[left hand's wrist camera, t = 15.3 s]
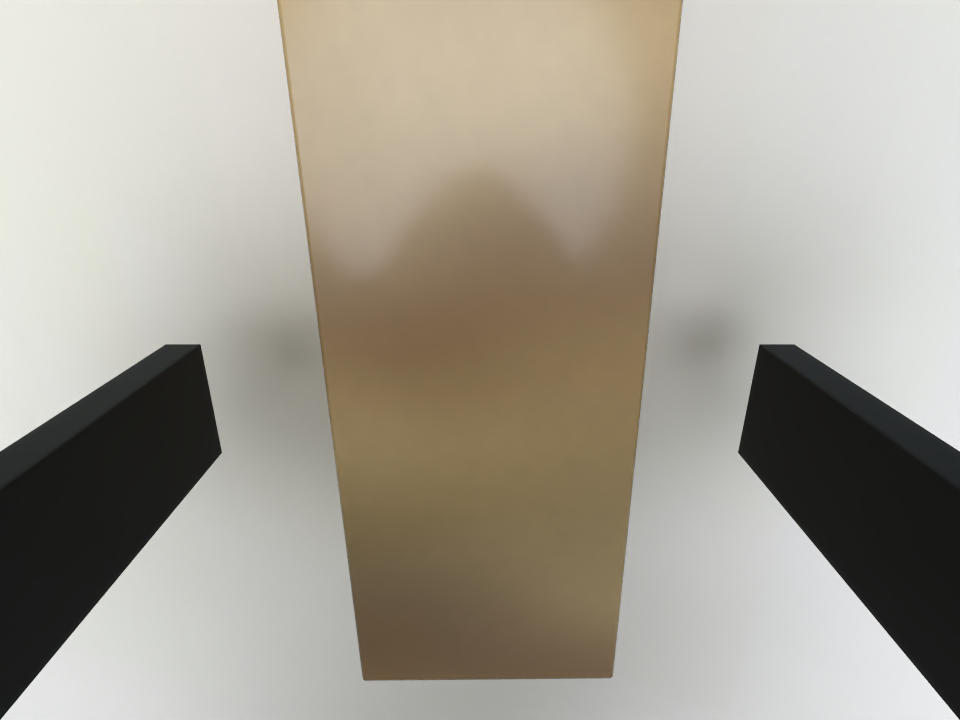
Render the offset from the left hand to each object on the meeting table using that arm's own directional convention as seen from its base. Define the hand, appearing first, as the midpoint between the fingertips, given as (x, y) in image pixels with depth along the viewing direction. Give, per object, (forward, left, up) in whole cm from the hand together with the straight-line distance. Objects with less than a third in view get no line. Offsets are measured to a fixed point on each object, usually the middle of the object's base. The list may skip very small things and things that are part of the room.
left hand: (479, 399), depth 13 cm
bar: (+8, +3, -4) cm, 9 cm away
